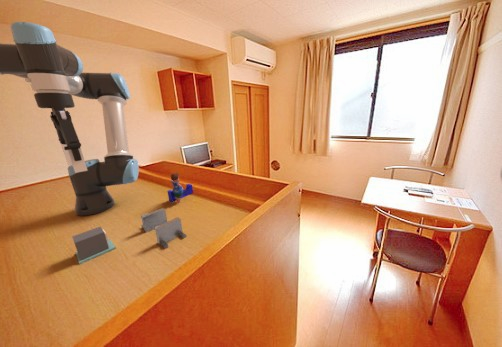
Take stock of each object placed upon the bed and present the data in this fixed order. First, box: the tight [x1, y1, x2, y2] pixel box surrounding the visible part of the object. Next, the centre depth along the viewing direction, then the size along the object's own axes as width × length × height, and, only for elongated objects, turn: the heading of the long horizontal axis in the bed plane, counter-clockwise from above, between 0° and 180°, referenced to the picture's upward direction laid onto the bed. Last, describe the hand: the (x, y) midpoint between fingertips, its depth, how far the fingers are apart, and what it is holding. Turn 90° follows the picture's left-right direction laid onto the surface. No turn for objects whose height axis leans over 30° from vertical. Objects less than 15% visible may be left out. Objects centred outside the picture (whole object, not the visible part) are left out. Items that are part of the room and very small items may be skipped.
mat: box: [75, 238, 116, 265], centre depth 62 cm, size 7×9×1 cm
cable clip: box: [167, 183, 194, 203], centre depth 99 cm, size 12×4×6 cm, turn 142°
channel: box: [140, 207, 188, 249], centre depth 70 cm, size 19×8×6 cm, turn 48°
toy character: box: [168, 172, 184, 204], centre depth 92 cm, size 12×5×15 cm, turn 46°
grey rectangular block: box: [72, 226, 109, 260], centre depth 60 cm, size 5×7×6 cm
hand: (77, 167), depth 60 cm, fingers open, 13 cm apart
